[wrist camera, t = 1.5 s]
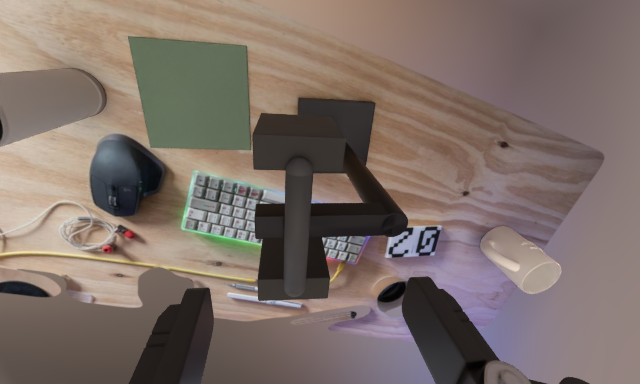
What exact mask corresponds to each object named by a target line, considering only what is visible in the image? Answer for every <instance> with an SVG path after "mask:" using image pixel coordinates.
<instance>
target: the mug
mask: <svg viewBox="0 0 640 384" xmlns="http://www.w3.org/2000/svg"><path fill="white" fill-rule="evenodd" d="M480 249H481V251H482V252H483V253H484V254H485V255H486V256H487V257H488V258H489V259H490V260H491V261H492V262H493V263H494V264H495V265H496V266H497V267H498V268H499V269H500V270H501V271H502V272H504V273H505V274H506V275H507V276H508V277H509V278H510V279H511V280H512V281H513V282H514V283H515V284H516V285H517V286H518V287H519V288H520V289H522V291H524V292H526V293H529V294H535V293H539V292H542V291H544V290H546V289H548V288H549V287H551V286H552V285H553V284H554V283H555V282H556V281H557V280H558V278H559V277H560V274H561V267H560V265H559V264H558V263H557V262H556V261H554V260H553V259H552V258H550V257H549V256H547V255H546V254H545V253H544V251H543V250H542V249H540V248H539V247H537V246H536V245H535V244H533V243H532V242H530V241H527V240H526V239H525V238H523V237H522V236H520V235H519V234H518V233H516V232H515V231H514V230H512V229H511V228H509V227H506V226H499V227H496V228H493V229H491V230H490V231H488V232H487V233H486V234H485V235H484V237H483V238H482V240H481V242H480Z"/></svg>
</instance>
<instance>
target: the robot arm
mask: <svg viewBox="0 0 640 384" xmlns="http://www.w3.org/2000/svg"><path fill="white" fill-rule="evenodd" d="M402 313H403V317H404V319H405V321H406V323H407V325H408V328H409V330H410V332H411V334H412V336H413V338H414V340H415V342H416V344H417V346H418V348H419V350H420V352H421V354H422V356H423V358H424V360H425V363H426V365H427V367H428V369H429V371H430V373H431V375H432V377H433V379H434V381H435V383H436V384H546V383H542V382H537V381H533V380H529V379H528V378H527V377H526V376H525V375H524V374H523V373H522V372H521V371H519V370H518V369H517V368H515V367H514V366H512V365H510V364H508V363H506V362H502V361H500V360H499V359H498V357H497V356H496V355H495V353H494V352H493V351H492V349H491V348H490V347H489V345H488V344H487V343H486V341H485V340H484V338H483V337H482V336H481V334H480V333H479V331H478V330H477V329H476V327H475V326H474V325H473V323H472V322H471V321H469V318H468V316H467V315H466V314H465V312H463V311H462V308H461V307H460V306H459V304H458V303H457V301H456V300H455V299H454V298H453V297H452V296H451V295H450V294H448V293H447V292H446V291H445V290H443V289H438V288H437V286H436V285H435V283H434V282H433V280H432V279H431V278H430V277H411V278H410V279H409V280H408V284H407V287H406V291H405V294H404V298H403V302H402ZM213 321H214V316H213V309H212V302H211V295H210V289H209V288H192V289H187V290H186V291H185V294H184V296H183V299H182V302H181V304H177V305H170V306H169V307H168V308H167V309H166V310H165V311H164V312H163V313H162V314H161V315H160V316H159V317H158V319H157V322H156V324H155V326H154V328H153V331H152V335H150V337H149V340H148V342H147V345H146V348H145V349H144V351H143V353H142V355H141V358H140V360H139V362H138V364H137V367H136V369H135V371H134V373H133V376H132V378H131V380H130V382H129V384H201V380H202V376H203V372H204V368H205V363H206V359H207V354H208V350H209V345H210V341H211V337H212V331H213V323H214V322H213ZM559 384H589V383H587V382H585V381H583V380H580V379H577V378H573V377H567V378H564V379H563V380H562V381H561V382H560V383H559Z"/></svg>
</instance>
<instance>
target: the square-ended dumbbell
mask: <svg viewBox="0 0 640 384" xmlns="http://www.w3.org/2000/svg"><path fill="white" fill-rule="evenodd" d="M252 136H253V164H254V169H255V170H286V180H285V232H284V238H268V239H263V240H262V248H261V257H260V265H259V273H258V300H259V301H267V300H294V299H322V298H328V291H329V282H330V276H329V271H328V266H327V261H326V256H325V251H324V246H323V241H322V237H309V228H310V213H311V198H312V182H313V171H331V172H342V171H343V162H344V154H345V145H346V137H345V136H344V135H343V133H342V132H341V130H340V129H339V128H338V126H337V125H336V124H335V122H334V121H333V120H332V118H331V117H325V116H306V115H287V114H268V113H261V115H260V118H259V120H258V123H257V125H256V127H255V130H254V132H253V135H252Z"/></svg>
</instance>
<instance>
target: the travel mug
mask: <svg viewBox="0 0 640 384" xmlns="http://www.w3.org/2000/svg"><path fill="white" fill-rule="evenodd" d="M105 103H106V97H105V93H104V90H103V88H102V86H101V85H100V83H99V82H98V81H97V80H96V79H95V78H94V77H93V76H91V75H90V74H88V73H86V72H85V71H82V70H79V69H74V68H67V69H53V70H38V71H23V72H9V73H0V147H1V146H4V145H7V144H10V143H13V142H16V141H19V140H22V139H25V138H28V137H31V136H34V135H37V134H40V133H43V132H46V131H49V130H52V129H55V128H58V127H61V126H64V125H67V124H70V123H73V122H76V121H79V120H82V119H85V118H88V117H91V116H94V115H96V114H98V113H100V112H101V111H102V110H103V108H104V106H105Z"/></svg>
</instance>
